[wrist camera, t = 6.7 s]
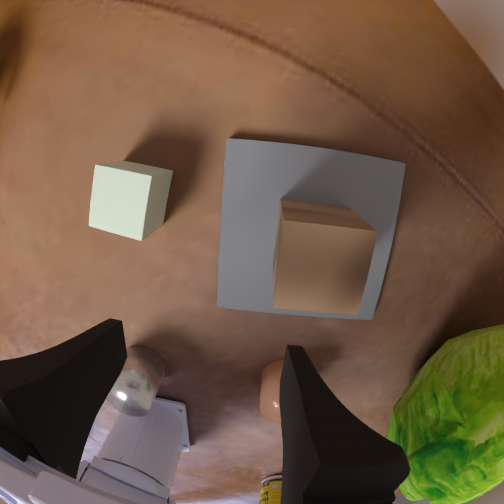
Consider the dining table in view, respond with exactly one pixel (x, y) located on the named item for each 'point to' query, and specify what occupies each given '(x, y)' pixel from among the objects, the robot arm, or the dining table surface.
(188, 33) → the dining table surface
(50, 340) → the dining table surface
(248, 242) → the slate coaster
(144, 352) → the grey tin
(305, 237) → the walnut block
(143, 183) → the pale green block
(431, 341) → the dining table surface
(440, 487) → the lettuce
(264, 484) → the supplement bottle
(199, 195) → the dining table surface
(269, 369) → the peach rounded cylinder
